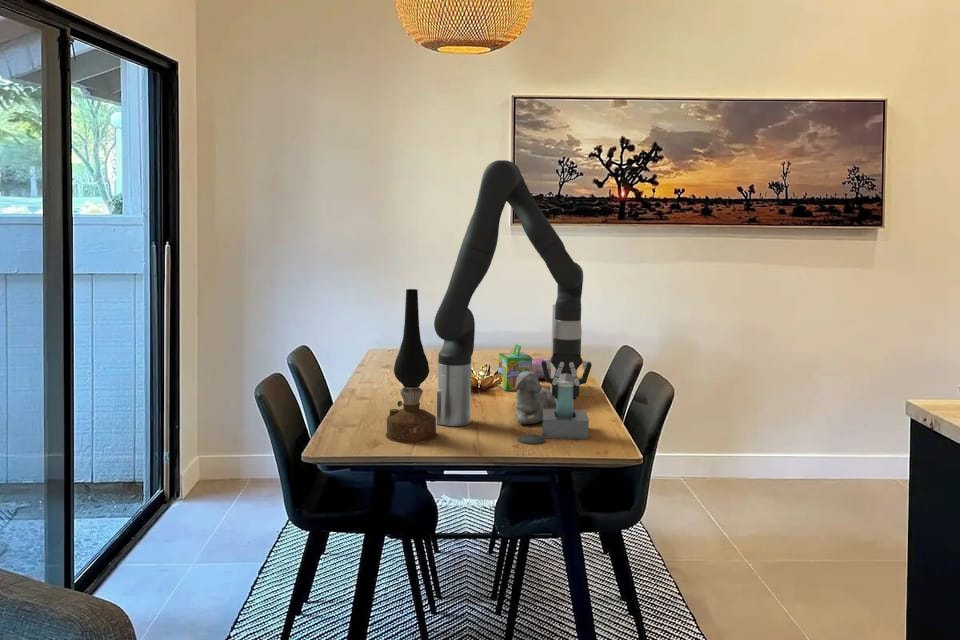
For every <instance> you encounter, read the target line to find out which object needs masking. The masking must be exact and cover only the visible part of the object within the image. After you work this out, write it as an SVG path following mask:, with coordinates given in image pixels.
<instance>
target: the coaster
mask: <svg viewBox="0 0 960 640" xmlns="http://www.w3.org/2000/svg"><path fill="white" fill-rule="evenodd" d="M545 439H546V438H544V437H543V435H537V434H524V435H520V436H518V438H517V441H518V442H520V443H521V444H525V445H540V444H542V443H545V441H546V440H545Z"/></svg>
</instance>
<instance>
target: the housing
mask: <svg viewBox="0 0 960 640" xmlns="http://www.w3.org/2000/svg"><path fill="white" fill-rule="evenodd" d="M541 422H542V423H541V424H542V429H541V431H542V437H544V438H545V439H569V440H570V439H571V440H576V439H577V440H589V422H590V420H589V416H588V412H587V409H573V417H556V409H543V420H542V421H541Z"/></svg>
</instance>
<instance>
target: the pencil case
mask: <svg viewBox="0 0 960 640" xmlns="http://www.w3.org/2000/svg"><path fill="white" fill-rule="evenodd" d="M549 359H551V356H545V357H544V356H543V357H542V356H541V357H532V369H531V372H534V373H535V374H536V376H537V377H538V380H539V379H541V380H542V379H545V376H544V372H543V368H542V363H541V362H542V360H549ZM548 372H549V376H550V378H551V363H550V367H549V368H548Z"/></svg>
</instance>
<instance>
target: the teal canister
mask: <svg viewBox="0 0 960 640" xmlns="http://www.w3.org/2000/svg"><path fill="white" fill-rule="evenodd" d="M574 400H575V399H574V383H573V382H567V381H561V382H557V404H556V417H573V410H574Z"/></svg>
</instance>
